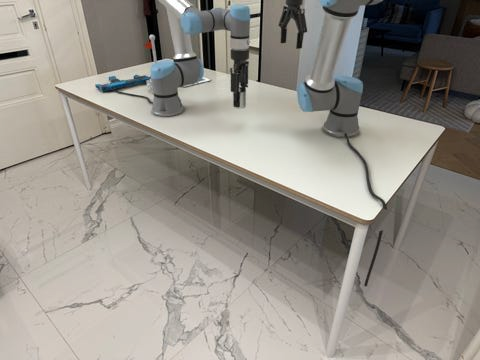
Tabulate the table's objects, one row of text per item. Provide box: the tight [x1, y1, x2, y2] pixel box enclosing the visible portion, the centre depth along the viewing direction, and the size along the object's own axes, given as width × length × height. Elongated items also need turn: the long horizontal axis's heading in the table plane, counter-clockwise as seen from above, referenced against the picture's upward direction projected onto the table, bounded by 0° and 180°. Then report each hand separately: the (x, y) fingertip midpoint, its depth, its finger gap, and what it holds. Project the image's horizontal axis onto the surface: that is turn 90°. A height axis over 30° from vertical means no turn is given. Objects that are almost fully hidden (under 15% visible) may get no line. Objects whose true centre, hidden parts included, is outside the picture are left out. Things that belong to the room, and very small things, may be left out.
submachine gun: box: [94, 74, 151, 92], centre depth 206 cm, size 34×4×25 cm
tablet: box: [182, 76, 212, 88], centre depth 216 cm, size 32×20×1 cm, turn 41°
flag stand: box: [143, 34, 158, 94], centre depth 188 cm, size 13×13×30 cm
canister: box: [233, 88, 247, 110], centre depth 147 cm, size 5×5×7 cm
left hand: (239, 104), depth 148 cm, fingers closed on canister, 5 cm apart
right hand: (290, 45), depth 161 cm, fingers open, 13 cm apart
